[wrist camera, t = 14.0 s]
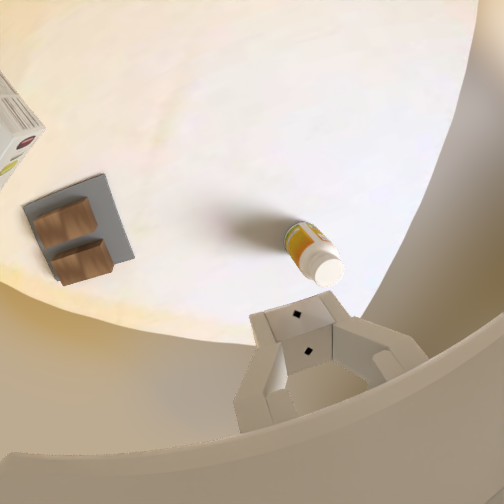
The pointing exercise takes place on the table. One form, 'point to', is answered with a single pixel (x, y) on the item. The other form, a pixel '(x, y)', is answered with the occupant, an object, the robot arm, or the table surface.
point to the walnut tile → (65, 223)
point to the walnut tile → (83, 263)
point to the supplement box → (15, 129)
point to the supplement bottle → (314, 254)
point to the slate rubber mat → (102, 211)
